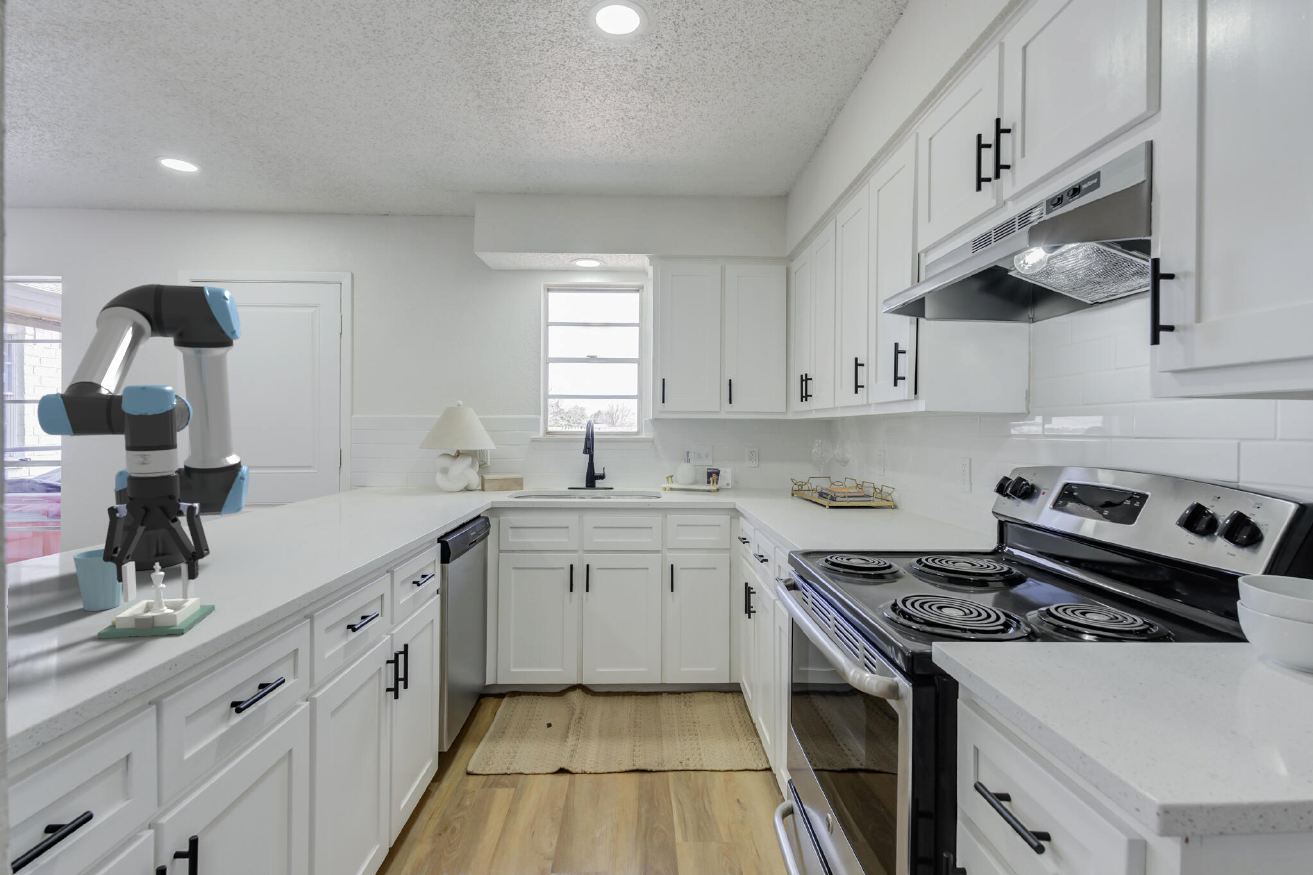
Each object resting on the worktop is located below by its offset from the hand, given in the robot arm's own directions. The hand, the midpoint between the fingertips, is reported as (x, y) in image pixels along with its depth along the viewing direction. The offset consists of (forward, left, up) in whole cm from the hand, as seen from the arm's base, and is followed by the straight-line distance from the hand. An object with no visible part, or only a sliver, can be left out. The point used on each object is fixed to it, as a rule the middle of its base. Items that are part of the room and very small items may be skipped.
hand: (159, 598), depth 127 cm
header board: (0, 0, -4) cm, 5 cm away
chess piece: (0, 0, -4) cm, 4 cm away
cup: (-12, -15, -5) cm, 19 cm away
